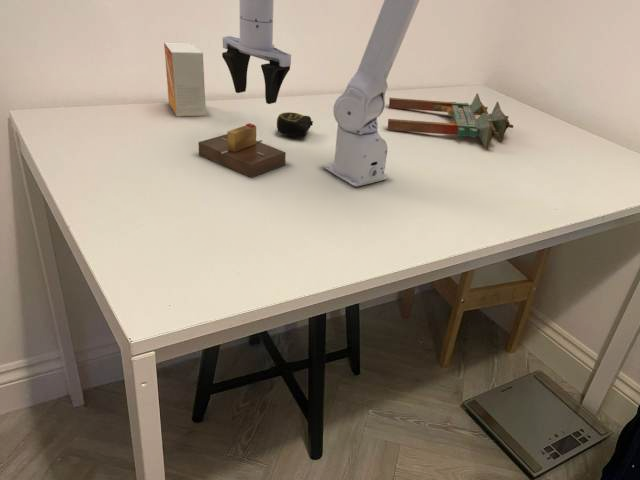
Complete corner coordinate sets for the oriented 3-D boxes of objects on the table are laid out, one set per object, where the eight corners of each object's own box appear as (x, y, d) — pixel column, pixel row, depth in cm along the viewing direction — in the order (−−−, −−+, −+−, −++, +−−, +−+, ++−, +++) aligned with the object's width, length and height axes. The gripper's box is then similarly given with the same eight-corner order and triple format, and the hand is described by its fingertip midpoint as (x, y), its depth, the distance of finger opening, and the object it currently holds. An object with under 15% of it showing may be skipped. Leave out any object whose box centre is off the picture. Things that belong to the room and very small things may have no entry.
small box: (168, 104, 123) (163, 41, 116) (197, 104, 126) (194, 42, 119) (175, 116, 118) (171, 51, 110) (206, 116, 120) (203, 52, 113)
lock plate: (287, 164, 105) (287, 150, 104) (249, 178, 98) (249, 164, 96) (236, 143, 110) (236, 130, 109) (196, 155, 103) (195, 141, 101)
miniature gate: (390, 87, 146) (504, 95, 147) (388, 108, 149) (500, 116, 150) (388, 118, 124) (522, 128, 124) (386, 143, 127) (517, 152, 127)
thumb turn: (234, 152, 100) (234, 132, 98) (227, 149, 100) (227, 129, 98) (256, 144, 104) (256, 124, 102) (249, 141, 105) (249, 122, 103)
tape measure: (304, 142, 116) (305, 124, 114) (272, 136, 116) (272, 118, 114) (312, 132, 121) (313, 115, 119) (281, 126, 122) (282, 109, 119)
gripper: (303, 26, 98) (299, 104, 106) (241, 9, 103) (241, 84, 111) (276, 29, 93) (274, 110, 100) (213, 11, 98) (215, 89, 106)
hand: (255, 97), depth 105 cm, fingers open, 7 cm apart
